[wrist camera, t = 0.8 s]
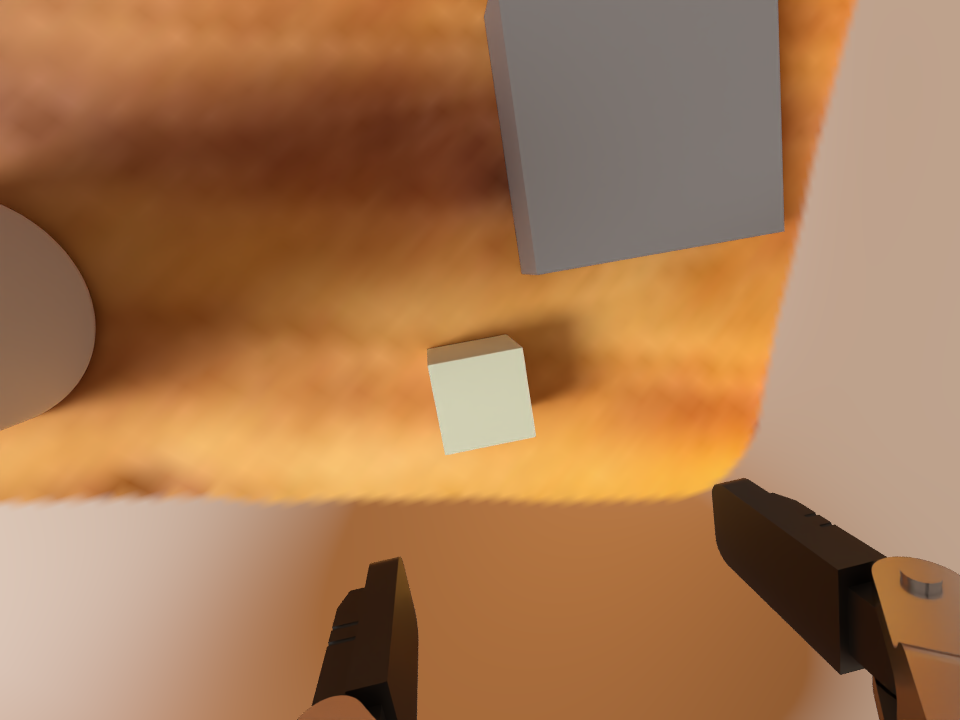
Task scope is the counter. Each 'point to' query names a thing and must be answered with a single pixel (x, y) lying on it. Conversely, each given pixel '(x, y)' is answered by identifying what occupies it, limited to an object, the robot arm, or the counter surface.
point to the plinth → (637, 125)
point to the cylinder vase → (39, 321)
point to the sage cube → (481, 393)
